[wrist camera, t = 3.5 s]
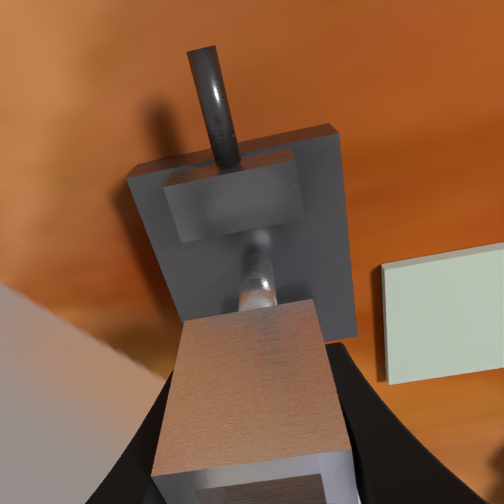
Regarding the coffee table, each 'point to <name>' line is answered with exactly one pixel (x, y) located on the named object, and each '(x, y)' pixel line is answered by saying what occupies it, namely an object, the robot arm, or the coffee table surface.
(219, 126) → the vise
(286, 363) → the hollow square tube
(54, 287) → the coffee table surface
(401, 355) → the set down mat
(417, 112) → the coffee table surface
